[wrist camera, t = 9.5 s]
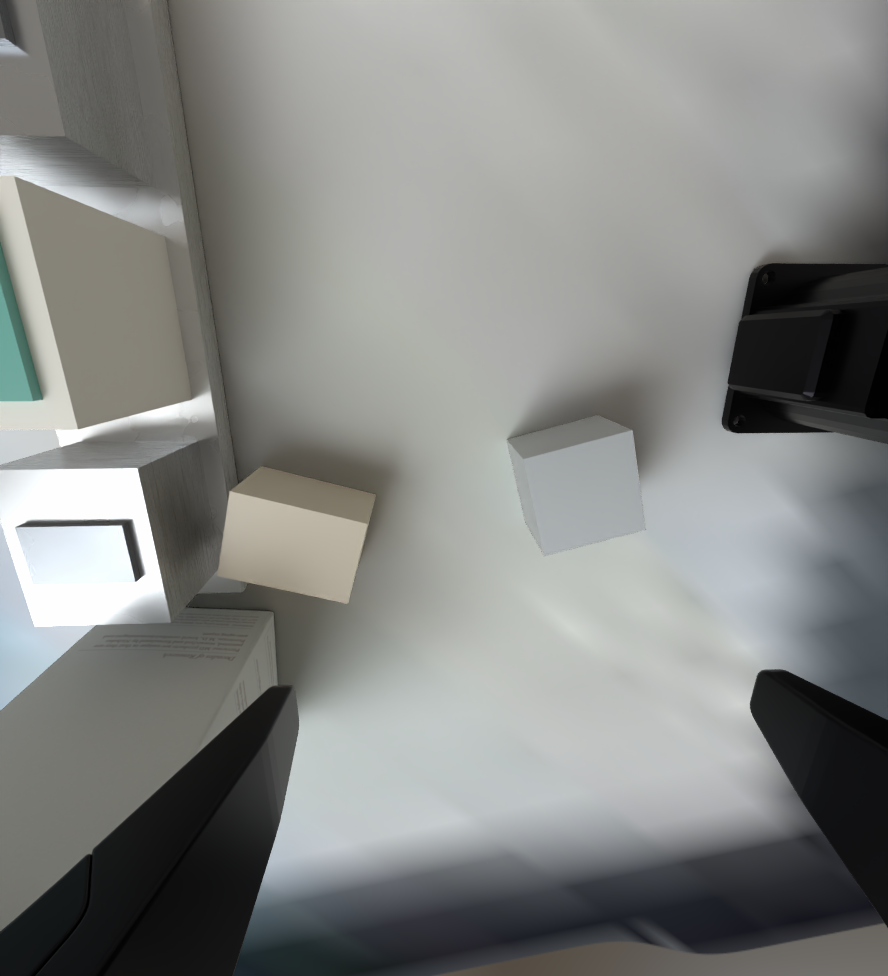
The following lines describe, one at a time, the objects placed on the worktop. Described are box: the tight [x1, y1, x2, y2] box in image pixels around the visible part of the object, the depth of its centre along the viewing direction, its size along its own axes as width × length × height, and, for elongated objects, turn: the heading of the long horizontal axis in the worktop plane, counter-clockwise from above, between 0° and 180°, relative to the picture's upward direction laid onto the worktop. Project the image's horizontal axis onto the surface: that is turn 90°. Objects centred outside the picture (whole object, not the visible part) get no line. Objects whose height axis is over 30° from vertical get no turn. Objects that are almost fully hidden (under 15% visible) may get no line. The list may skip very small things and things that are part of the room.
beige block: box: [217, 466, 376, 604], centre depth 19 cm, size 5×4×4 cm
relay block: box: [507, 415, 646, 556], centre depth 18 cm, size 4×4×4 cm
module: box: [0, 176, 192, 430], centre depth 13 cm, size 4×6×6 cm
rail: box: [0, 0, 249, 626], centre depth 15 cm, size 6×22×6 cm, turn 0°
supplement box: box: [0, 608, 278, 931], centre depth 16 cm, size 7×7×13 cm
